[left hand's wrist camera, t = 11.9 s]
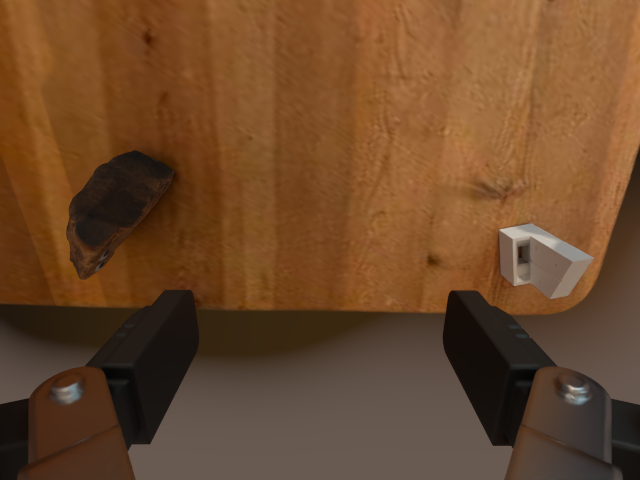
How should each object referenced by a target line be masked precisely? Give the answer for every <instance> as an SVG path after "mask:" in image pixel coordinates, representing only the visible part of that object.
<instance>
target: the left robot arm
mask: <svg viewBox="0 0 640 480" xmlns="http://www.w3.org/2000/svg"><path fill="white" fill-rule="evenodd" d="M198 343H199V331H198V324H197V316H196V309H195V301H194V296H193V293H192V291H191V290H165V291H164V292H163V293H162V294H161V295H160V296H159V297H158V299H157V300H156V301H155V302H154V303H153V304H152V306H145V307H144V308H142V309H141V310H139V311H137V312H136V313H134V314H132V315H131V316H130V317H129V318H128V319H127V320H126V322H125V323H124V324H123V325H122V328H119V329H118V330H117V331H116V333H115V334H114V335H113V337H111V338H110V339H109V340H108V341H107V342H106V343H105V345H104V346H103V347H102V348H101V349H100V350H99V351H98V352H97V353H96V354H95V356H94V357H93V358H92V359H91V360H90V361H89V362H88V363H87V364H86V365H85V366H84V367H77V368H73V369H69V370H66V371H63V372H61V373H59V374H57V375H54V376H53V377H51V378H49V379H48V380H46V381H45V382H43V383H42V384H41V385H39V386H38V387H37V388H36V389H35V390H34V391H33V393H32V394H31V396H30V398H28V399H23V400H19V401H14V402H9V403H4V404H0V480H136V479H135V476H134V472H133V469H132V465H131V462H130V458H129V455H128V450H129V448H130V446H131V445H132V444H150V443H151V441H152V439H153V437H154V435H155V433H156V431H157V429H158V427H159V425H160V423H161V421H162V420H163V417H164V416H165V414H166V412H167V410H168V408H169V406H170V404H171V402H172V400H173V398H174V396H175V394H176V392H177V390H178V388H179V386H180V384H181V382H182V380H183V378H184V376H185V374H186V372H187V370H188V368H189V366H190V364H191V362H192V360H193V358H194V356H195V354H196V352H197V348H198ZM443 345H444V350H445V353H446V355H447V357H448V359H449V361H450V363H451V365H452V367H453V369H454V371H455V373H456V375H457V377H458V379H459V381H460V382H461V384H462V386H463V388H464V390H465V392H466V394H467V396H468V398H469V400H470V402H471V404H472V406H473V408H474V410H475V412H476V414H477V416H478V418H479V420H480V422H481V423H482V425H483V427H484V429H485V431H486V433H487V435H488V437H489V439H490V441H491V443H492V445H493V446H512V448H513V451H512V455H511V458H510V462H509V465H508V469H507V472H506V476H505V479H504V480H640V405H638V404H633V403H628V402H624V401H619V400H614V399H611V398H610V396H609V394H608V393H607V392H606V390H605V389H604V388H603V387H602V386H601V385H599V384H598V383H597V382H595V381H594V380H593V379H591V378H589V377H587V376H586V375H583V374H581V373H579V372H576V371H574V370H571V369H567V368H563V367H558V366H557V365H556V364H555V363H554V362H553V361H552V360H551V359H550V358H549V357H548V355H547V354H546V353H545V352H544V351H543V350H542V349H541V348H540V347H539V346H538V345H537V344H536V342H535V341H534V340H533V339H532V338H529V335H528V334H527V333H526V332H525V331H524V329H521V326H520V325H519V324H518V323H517V322H516V321H515V320H514V319H513V317H512V316H511V315H509V314H507V313H506V312H504V311H502V310H501V309H499V308H497V307H496V306H490V305H489V304H488V302H487V301H486V300H485V299H484V298H483V297H482V295H481V294H480V293H479V292H478V291H451V292H450V293H449V296H448V302H447V309H446V316H445V323H444V330H443Z"/></svg>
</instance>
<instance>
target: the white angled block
mask: <svg viewBox="0 0 640 480" xmlns="http://www.w3.org/2000/svg"><path fill="white" fill-rule="evenodd" d="M499 244H500V269H501V275H503V276H504V277H505V278H506V279H507V280H508V281H509V282H510V283H511V284H512V285H513V286H517V285H522V284H528V283H531V284H532V285H533V286H535V287H536V288H537V289H538V290H539V291H541V292H542V293H543V294H544V295H546V296H547V297H548V298H549V299H553V298H558V297H564V296H568V295H569V294H570V292H571V291H572V289H573V288H574V286H575V285H576V283H577V282H578V280H579V279H580V278H581V276H582V275H583V273H584V272H585V270H586V269H587V267H588V266H589V265H590V263H591V262H592V260H593V259H594V258H593V257H592V256H590V255H588V254H586V253H584V252H582V251H581V250H579V249H577V248H575V247H573V246H571V245H570V244H568V243H566V242H564V241H562V240H560V239H559V238H557V237H555V236H553V235H551V234H549V233H548V232H546V231H544V230H542V229H540V228H539V227H537V226H535V225H533V224H526V225H521V226H515V227H510V228H505V229H500V230H499ZM520 246H521V255H522V258H518V247H520Z"/></svg>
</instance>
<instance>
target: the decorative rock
mask: <svg viewBox="0 0 640 480" xmlns="http://www.w3.org/2000/svg"><path fill="white" fill-rule="evenodd" d="M173 175H174V171H173V170H172V169H171V168H169V167H168V166H166V165H165V164H163V163H162V162H160V161H157V160H155V159H153V158H151V157H149V156H147V155H145V154H143V153H141V152H138V151H132V152H128V153H124V154H122V155H119V156H117V157H115V158H113V159H112V160H111V161H110V162H108V163H105V164H102V165H101V166H99V167H98V168H97V169H96V170H95V171H94V174H93V175H92V177H91V178H90V179H89V181H88V182H87V184H86V185H85V187H84V188H83V189H82V190H81V191H80V192H79V193H78V194H77V195H76V196H75V197H74V198H73V199H72V201H71V203H70V206H69V215H70V219H69V223H68V226H67V232H66V236H67V240H68V241H69V244H70V249H71V251H70V261H71V262H73V265H74V267H75V268H76V270H77V273H78V275H79V277H80V279H82V280H86V279H87V278H89V277H90V276H92V275H93V274H95V273H96V272H97V271H98V270H100V269H101V268H102V267H103V266H104V265H105V264H106V263H107V262H108V261H109V259H110V258H111V257H112V255H113V254H114V251H115V249H116V248H117V247H118V246H119V245H120V244H121V243H122V242H123V241H124V240H125V239H126V238H127V237H128V236H129V235H130V233H131V232H132V231H133V230H134V229H135V228H136V226H137V225H138V224H139V223H140V222H141V221H142V220H143V219H144V217H145V216H146V215H147V214H148V213H149V212H150V210H151V209H152V208H153V207H154V205H155V204H156V203H157V202H158V200H159V199H160V197H161V196H162V195H163V194H164V193H165V191H166V190H167V189H168V188H169V186H170V184H171V180H172V178H173Z"/></svg>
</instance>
